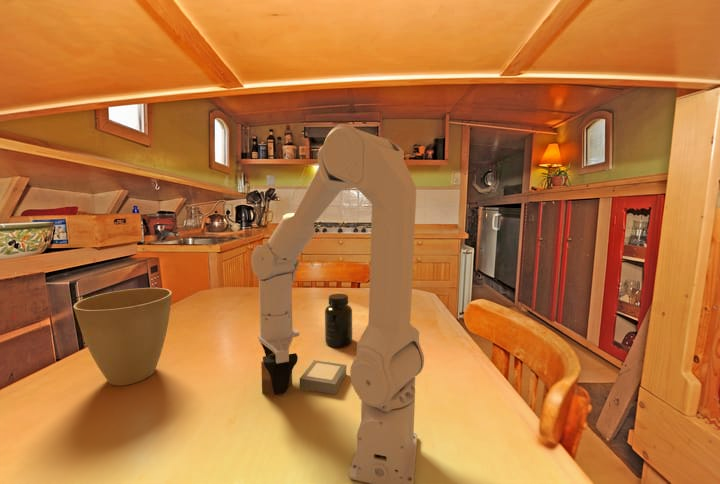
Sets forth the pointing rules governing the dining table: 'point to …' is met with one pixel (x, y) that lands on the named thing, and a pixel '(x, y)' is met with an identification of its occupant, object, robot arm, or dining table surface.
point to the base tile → (323, 377)
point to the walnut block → (267, 381)
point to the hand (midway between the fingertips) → (277, 381)
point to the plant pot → (125, 331)
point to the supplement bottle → (338, 321)
